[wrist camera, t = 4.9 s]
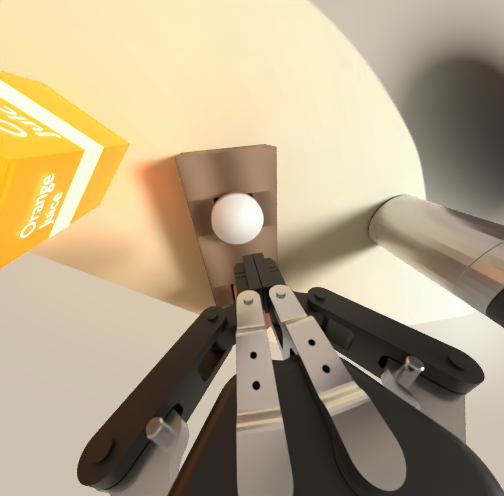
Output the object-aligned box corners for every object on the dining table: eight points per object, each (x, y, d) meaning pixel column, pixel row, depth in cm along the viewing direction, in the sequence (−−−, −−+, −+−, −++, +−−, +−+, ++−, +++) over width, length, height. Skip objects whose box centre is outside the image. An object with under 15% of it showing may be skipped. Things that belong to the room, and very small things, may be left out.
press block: (264, 144, 23) (276, 146, 19) (269, 292, 37) (277, 312, 33) (181, 152, 22) (174, 157, 17) (220, 301, 36) (221, 324, 32)
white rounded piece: (250, 178, 24) (262, 192, 18) (253, 218, 27) (264, 239, 21) (207, 184, 23) (206, 199, 18) (215, 224, 26) (216, 248, 21)
